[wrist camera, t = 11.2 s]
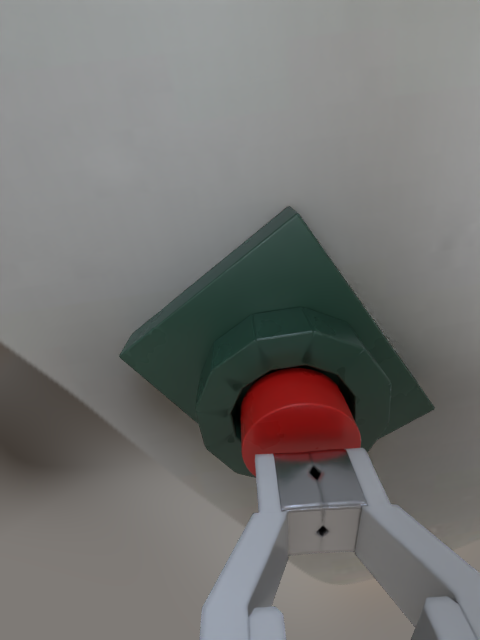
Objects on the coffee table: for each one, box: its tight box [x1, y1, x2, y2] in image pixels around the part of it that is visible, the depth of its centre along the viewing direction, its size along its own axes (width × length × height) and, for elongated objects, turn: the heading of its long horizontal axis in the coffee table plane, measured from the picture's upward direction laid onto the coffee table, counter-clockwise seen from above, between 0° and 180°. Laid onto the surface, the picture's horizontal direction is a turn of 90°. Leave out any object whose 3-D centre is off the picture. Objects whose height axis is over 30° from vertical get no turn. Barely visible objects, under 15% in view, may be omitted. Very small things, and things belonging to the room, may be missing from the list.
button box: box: [119, 206, 435, 478], centre depth 12 cm, size 10×8×4 cm
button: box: [240, 368, 361, 477], centre depth 10 cm, size 4×4×2 cm
